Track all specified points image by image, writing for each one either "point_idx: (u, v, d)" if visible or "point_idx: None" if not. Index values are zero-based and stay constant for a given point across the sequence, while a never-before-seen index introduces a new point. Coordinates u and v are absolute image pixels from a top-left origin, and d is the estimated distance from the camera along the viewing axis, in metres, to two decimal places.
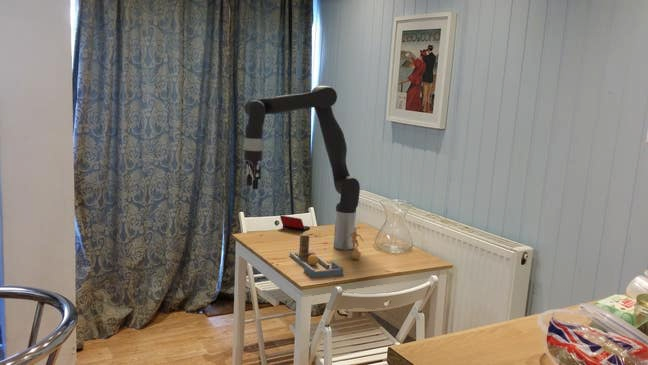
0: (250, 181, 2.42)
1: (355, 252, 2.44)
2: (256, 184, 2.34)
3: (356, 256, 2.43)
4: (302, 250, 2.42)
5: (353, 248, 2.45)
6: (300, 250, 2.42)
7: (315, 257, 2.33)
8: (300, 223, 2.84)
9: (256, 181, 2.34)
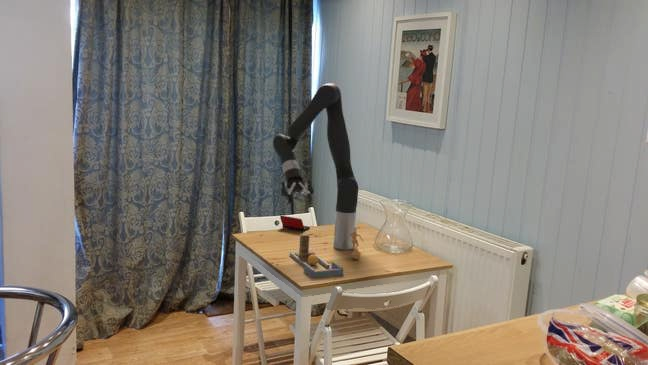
0: (308, 198, 2.48)
1: (355, 252, 2.44)
2: (288, 198, 2.44)
3: (356, 256, 2.43)
4: (302, 250, 2.42)
5: (353, 248, 2.45)
6: (300, 250, 2.42)
7: (315, 257, 2.33)
8: (300, 223, 2.84)
9: (287, 196, 2.45)
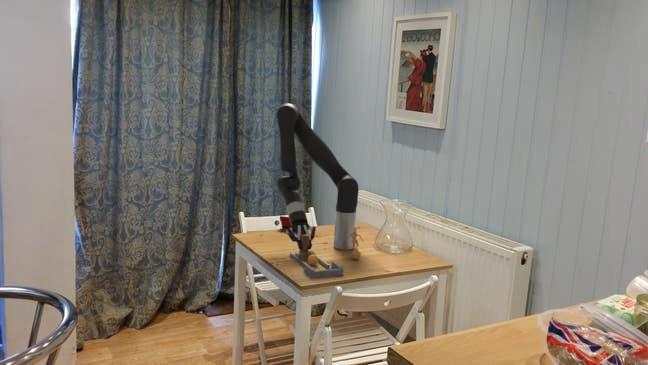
0: None
1: (355, 252, 2.44)
2: (298, 244, 2.41)
3: (356, 256, 2.43)
4: (302, 250, 2.42)
5: (353, 248, 2.45)
6: (300, 250, 2.42)
7: (315, 257, 2.33)
8: None
9: (297, 242, 2.41)
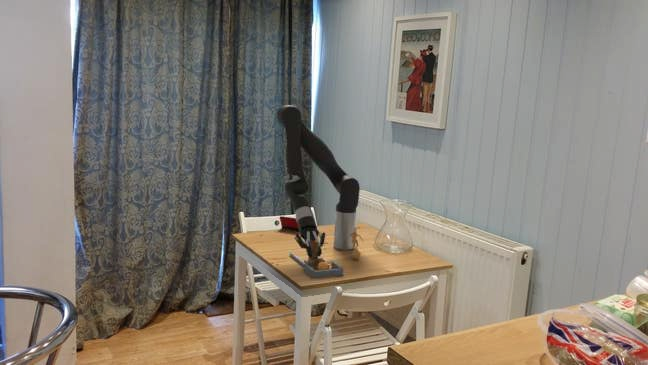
0: (318, 251, 2.33)
1: (355, 252, 2.44)
2: (307, 251, 2.32)
3: (356, 256, 2.43)
4: (311, 257, 2.33)
5: (353, 248, 2.45)
6: (309, 257, 2.33)
7: None
8: None
9: (306, 249, 2.32)
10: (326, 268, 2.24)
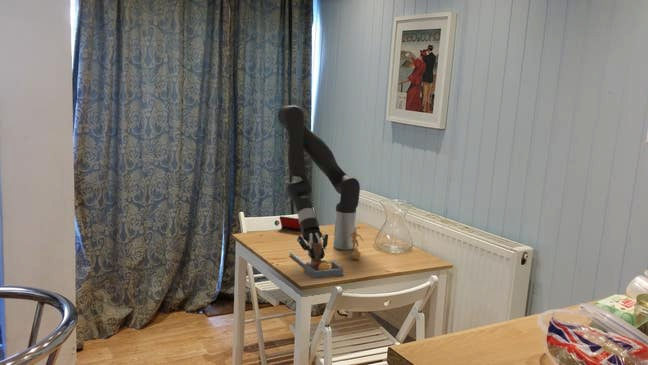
0: (321, 253, 2.31)
1: (355, 252, 2.44)
2: (310, 253, 2.29)
3: (356, 256, 2.43)
4: (314, 259, 2.30)
5: (353, 248, 2.45)
6: (312, 259, 2.31)
7: None
8: None
9: (309, 251, 2.30)
10: None
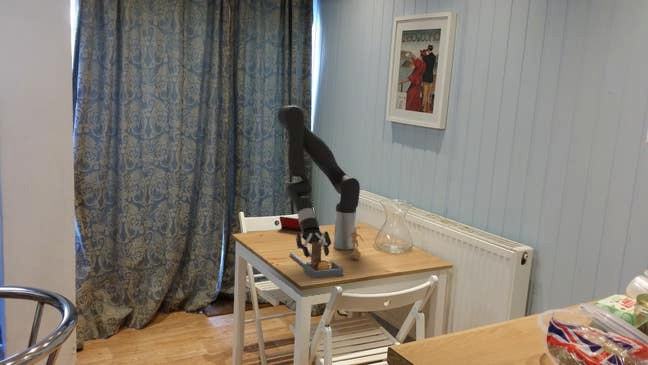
0: (325, 250, 2.32)
1: (355, 252, 2.44)
2: (304, 251, 2.29)
3: (356, 256, 2.43)
4: (314, 259, 2.30)
5: (353, 248, 2.45)
6: (312, 259, 2.31)
7: None
8: None
9: (303, 249, 2.29)
10: (326, 268, 2.24)
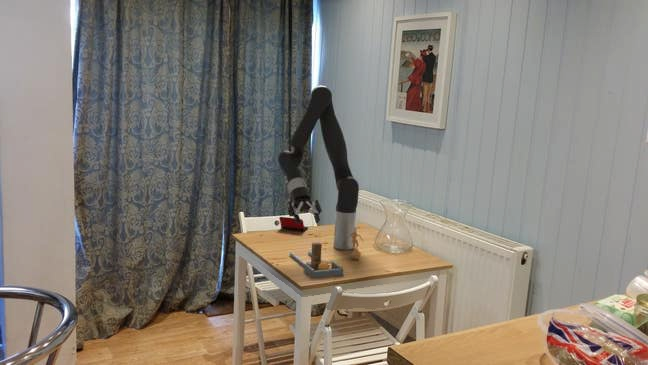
0: (316, 218, 2.41)
1: (355, 252, 2.44)
2: (295, 219, 2.37)
3: (356, 256, 2.43)
4: (314, 259, 2.30)
5: (353, 248, 2.45)
6: (312, 259, 2.31)
7: None
8: (301, 223, 2.83)
9: (294, 216, 2.38)
10: (326, 269, 2.23)
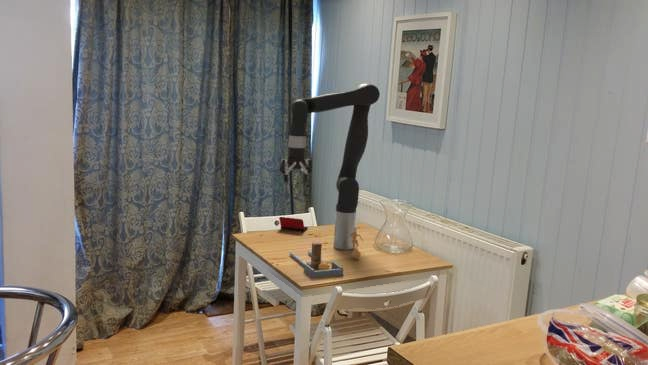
0: (303, 178, 2.52)
1: (355, 252, 2.44)
2: (284, 178, 2.48)
3: (356, 256, 2.43)
4: (314, 259, 2.30)
5: (353, 248, 2.45)
6: (312, 259, 2.31)
7: None
8: (301, 224, 2.83)
9: (284, 175, 2.48)
10: None
